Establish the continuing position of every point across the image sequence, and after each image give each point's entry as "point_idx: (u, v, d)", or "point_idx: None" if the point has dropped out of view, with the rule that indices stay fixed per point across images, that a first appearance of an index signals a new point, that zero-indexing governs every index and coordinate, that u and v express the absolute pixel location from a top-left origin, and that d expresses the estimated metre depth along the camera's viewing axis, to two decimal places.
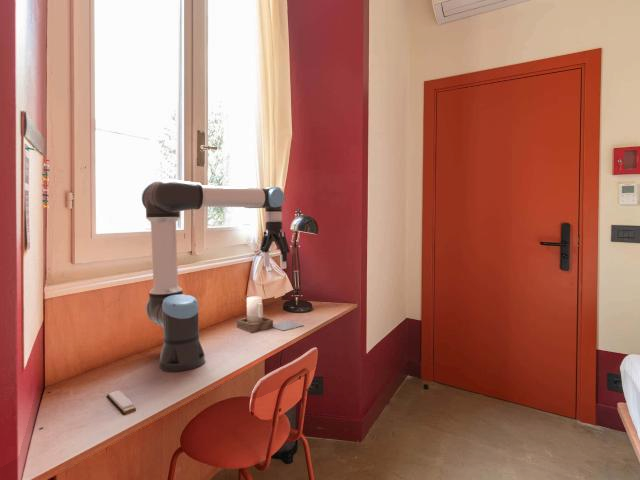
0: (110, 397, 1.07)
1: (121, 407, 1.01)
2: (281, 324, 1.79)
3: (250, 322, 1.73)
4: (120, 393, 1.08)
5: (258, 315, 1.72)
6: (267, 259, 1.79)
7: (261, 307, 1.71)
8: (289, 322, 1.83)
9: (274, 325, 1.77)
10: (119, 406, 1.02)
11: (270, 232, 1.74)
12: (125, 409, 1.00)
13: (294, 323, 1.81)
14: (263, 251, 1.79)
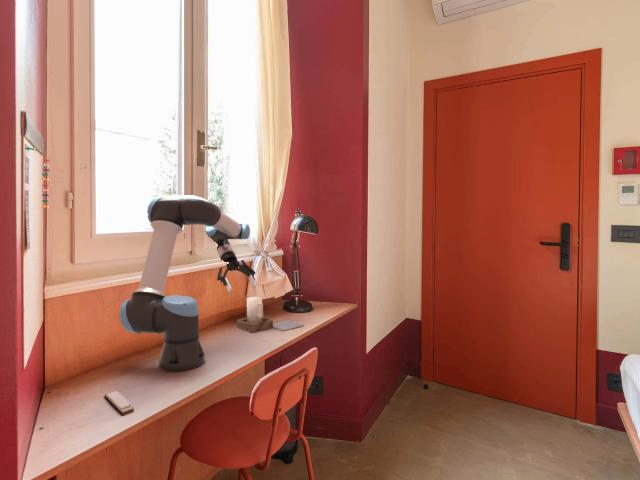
0: (108, 398, 1.07)
1: (119, 408, 1.00)
2: (281, 324, 1.79)
3: (250, 322, 1.73)
4: (118, 394, 1.07)
5: (258, 315, 1.72)
6: (252, 281, 1.89)
7: (261, 307, 1.71)
8: (289, 322, 1.83)
9: (274, 325, 1.77)
10: (117, 407, 1.01)
11: None
12: (123, 410, 1.00)
13: (294, 323, 1.81)
14: None
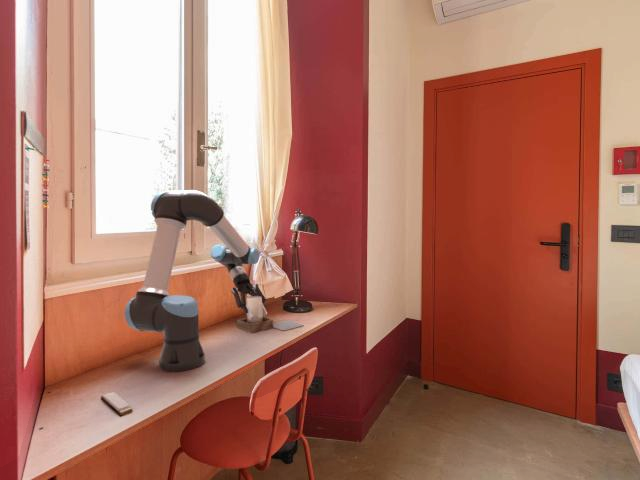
0: (105, 399, 1.06)
1: (117, 409, 1.00)
2: (281, 324, 1.79)
3: (250, 322, 1.73)
4: (115, 395, 1.07)
5: (258, 315, 1.72)
6: None
7: (261, 307, 1.71)
8: (289, 322, 1.83)
9: (274, 325, 1.77)
10: (115, 408, 1.01)
11: None
12: (122, 410, 0.99)
13: (294, 323, 1.81)
14: None
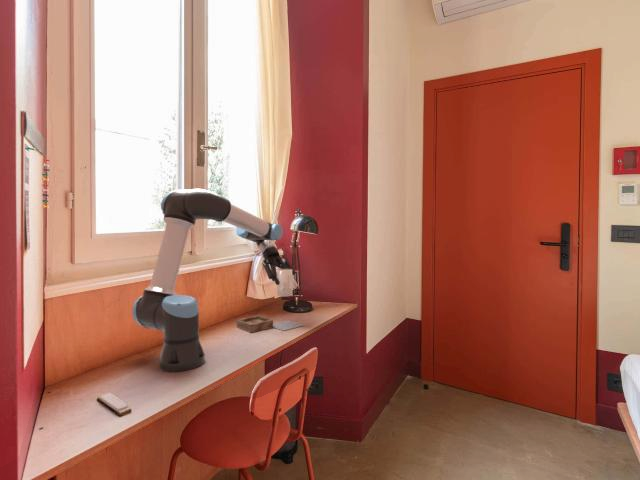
0: (101, 400, 1.05)
1: (116, 409, 1.00)
2: (281, 324, 1.79)
3: (281, 293, 1.74)
4: (112, 395, 1.06)
5: (289, 286, 1.74)
6: None
7: (292, 278, 1.73)
8: (289, 322, 1.83)
9: (274, 325, 1.77)
10: (113, 408, 1.01)
11: None
12: (121, 411, 0.99)
13: (294, 323, 1.81)
14: None
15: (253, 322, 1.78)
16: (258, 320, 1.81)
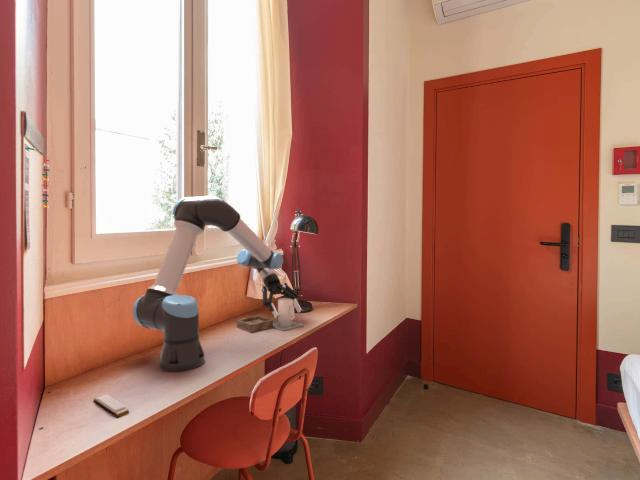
0: (98, 401, 1.05)
1: (113, 410, 0.99)
2: None
3: (281, 324, 1.75)
4: (109, 397, 1.06)
5: (290, 317, 1.74)
6: (296, 305, 1.82)
7: (293, 309, 1.74)
8: None
9: (274, 325, 1.77)
10: (111, 409, 1.00)
11: None
12: (118, 412, 0.99)
13: (294, 323, 1.81)
14: (293, 300, 1.85)
15: (253, 322, 1.78)
16: (258, 320, 1.81)
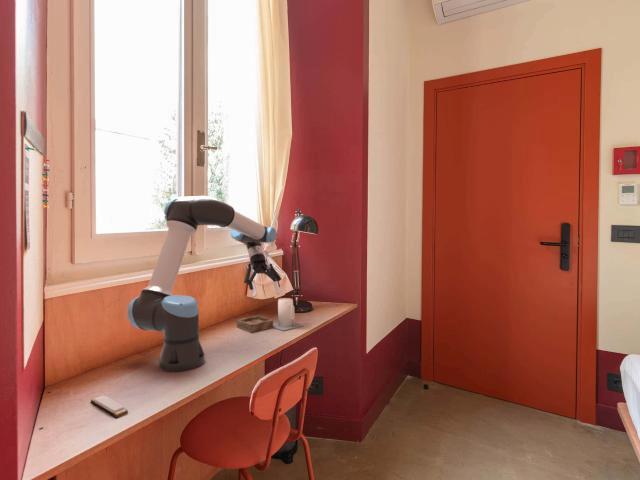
0: (96, 402, 1.04)
1: (112, 411, 0.99)
2: None
3: (281, 324, 1.75)
4: (106, 398, 1.05)
5: (290, 317, 1.74)
6: (277, 287, 1.91)
7: (293, 309, 1.73)
8: None
9: (274, 325, 1.77)
10: (109, 410, 1.00)
11: None
12: (117, 412, 0.98)
13: (294, 323, 1.81)
14: None
15: (253, 322, 1.78)
16: (258, 320, 1.81)
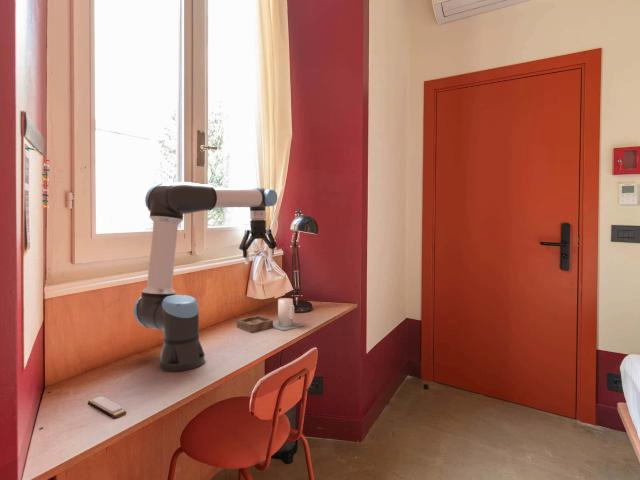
0: (93, 403, 1.04)
1: (110, 411, 0.99)
2: None
3: (281, 324, 1.75)
4: (104, 398, 1.05)
5: (289, 317, 1.74)
6: (270, 255, 1.90)
7: (293, 309, 1.74)
8: None
9: (274, 325, 1.77)
10: (107, 411, 0.99)
11: None
12: (115, 413, 0.98)
13: (294, 323, 1.81)
14: (269, 247, 1.91)
15: (253, 322, 1.78)
16: (258, 320, 1.81)
